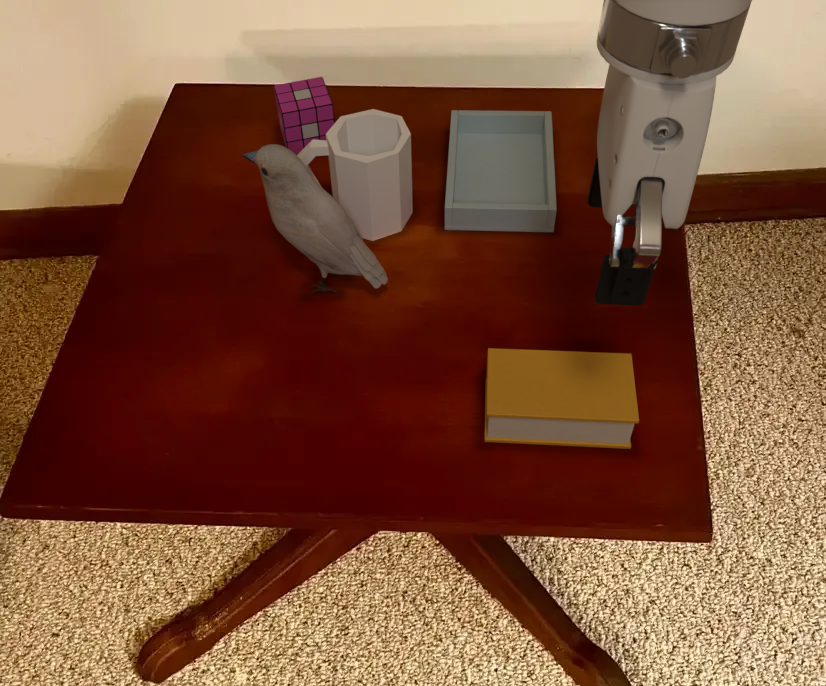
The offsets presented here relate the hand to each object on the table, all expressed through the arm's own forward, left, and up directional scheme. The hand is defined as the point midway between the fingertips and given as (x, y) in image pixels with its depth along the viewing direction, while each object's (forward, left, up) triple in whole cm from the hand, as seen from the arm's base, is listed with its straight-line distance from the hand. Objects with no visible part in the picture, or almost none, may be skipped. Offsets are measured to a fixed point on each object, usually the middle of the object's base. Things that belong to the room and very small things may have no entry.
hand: (613, 251), depth 61 cm
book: (+2, +1, -18) cm, 18 cm away
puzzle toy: (+29, -37, -18) cm, 51 cm away
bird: (+24, -14, -18) cm, 33 cm away
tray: (+7, -30, -18) cm, 36 cm away
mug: (+22, -24, -18) cm, 37 cm away
